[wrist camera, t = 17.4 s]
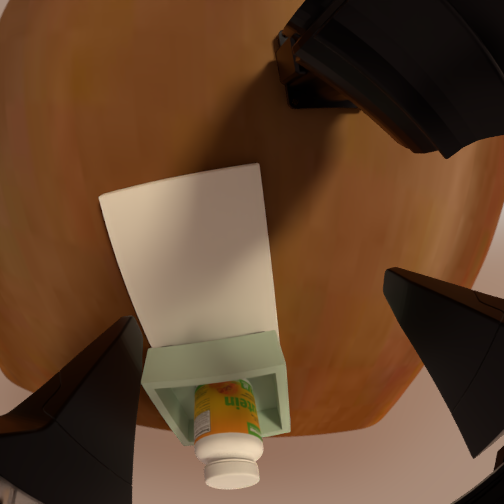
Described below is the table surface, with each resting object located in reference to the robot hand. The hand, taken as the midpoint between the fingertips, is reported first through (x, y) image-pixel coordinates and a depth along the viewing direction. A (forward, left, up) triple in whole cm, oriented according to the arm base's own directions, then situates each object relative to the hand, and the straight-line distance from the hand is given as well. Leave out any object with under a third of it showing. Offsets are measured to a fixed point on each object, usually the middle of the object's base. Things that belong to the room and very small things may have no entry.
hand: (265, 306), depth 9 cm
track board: (+4, +11, -13) cm, 17 cm away
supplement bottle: (+4, +15, -9) cm, 18 cm away
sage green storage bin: (+4, +15, -12) cm, 20 cm away
